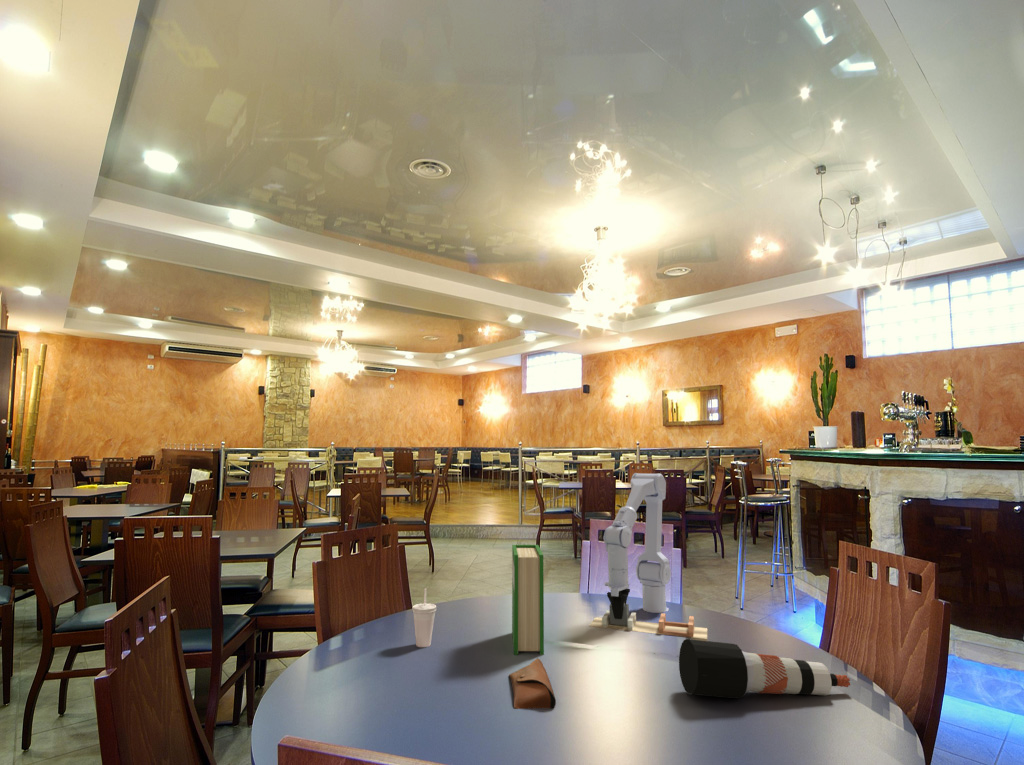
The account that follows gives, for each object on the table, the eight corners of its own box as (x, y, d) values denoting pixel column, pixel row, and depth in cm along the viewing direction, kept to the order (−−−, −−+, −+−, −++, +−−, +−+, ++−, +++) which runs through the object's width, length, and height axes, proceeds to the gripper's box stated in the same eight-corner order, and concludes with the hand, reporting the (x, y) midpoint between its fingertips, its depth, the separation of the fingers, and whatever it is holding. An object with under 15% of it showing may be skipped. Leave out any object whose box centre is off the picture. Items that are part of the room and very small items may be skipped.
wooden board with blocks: (595, 620, 164) (595, 606, 165) (707, 631, 153) (706, 617, 154) (588, 629, 155) (588, 615, 155) (707, 642, 144) (706, 627, 144)
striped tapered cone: (853, 721, 110) (870, 683, 107) (690, 706, 108) (702, 667, 105) (825, 679, 119) (840, 643, 116) (675, 665, 118) (686, 628, 115)
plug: (612, 620, 159) (611, 599, 160) (629, 622, 158) (628, 600, 158) (609, 623, 156) (609, 602, 157) (627, 625, 154) (626, 603, 155)
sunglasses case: (505, 673, 122) (520, 646, 123) (532, 689, 122) (547, 662, 123) (513, 710, 104) (530, 677, 105) (544, 728, 104) (561, 696, 106)
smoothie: (438, 641, 144) (439, 586, 146) (432, 649, 138) (433, 592, 140) (414, 640, 145) (416, 586, 147) (407, 648, 139) (409, 591, 141)
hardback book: (543, 654, 135) (543, 555, 138) (514, 654, 134) (514, 555, 138) (538, 632, 152) (538, 544, 156) (512, 632, 152) (512, 544, 155)
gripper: (608, 563, 167) (609, 609, 165) (599, 571, 154) (601, 622, 152) (631, 564, 165) (633, 611, 163) (624, 573, 151) (626, 624, 149)
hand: (619, 616), depth 157 cm, fingers closed on plug, 4 cm apart
